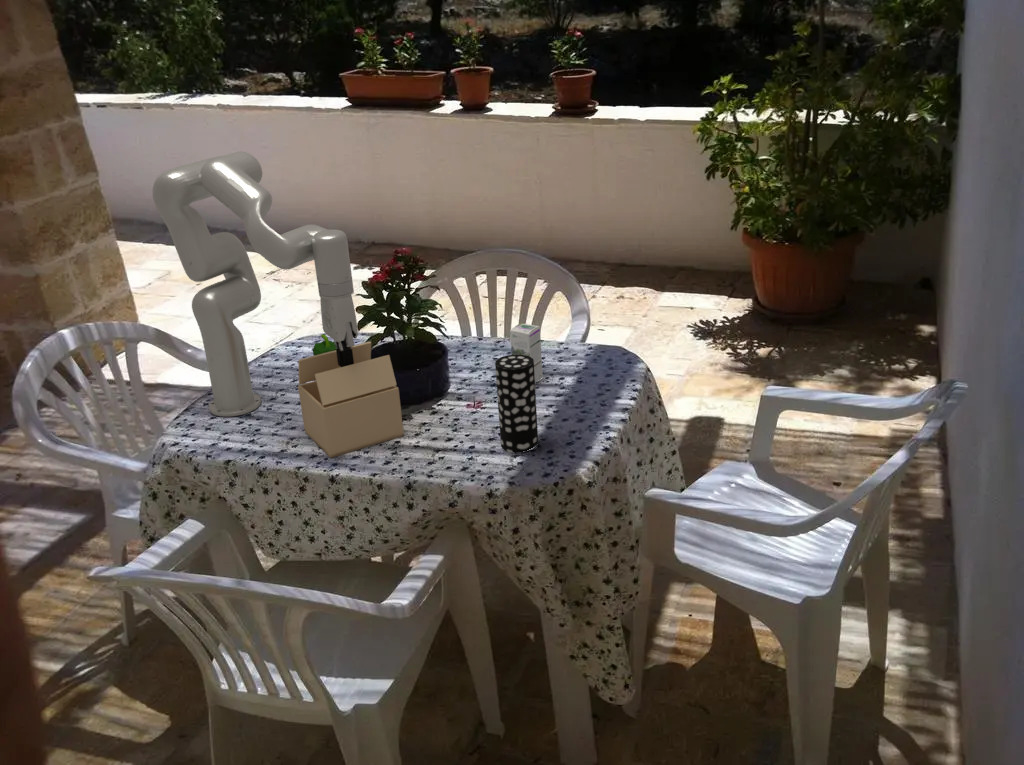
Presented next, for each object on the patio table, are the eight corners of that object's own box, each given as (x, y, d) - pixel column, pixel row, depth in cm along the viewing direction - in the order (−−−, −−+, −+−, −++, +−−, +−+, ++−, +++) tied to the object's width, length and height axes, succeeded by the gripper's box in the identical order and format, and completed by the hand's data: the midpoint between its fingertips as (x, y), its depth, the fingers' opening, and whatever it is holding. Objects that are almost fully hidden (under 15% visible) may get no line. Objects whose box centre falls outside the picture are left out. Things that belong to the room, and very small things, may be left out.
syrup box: (543, 378, 266) (541, 325, 260) (531, 387, 261) (528, 332, 255) (524, 374, 269) (521, 321, 263) (512, 383, 264) (508, 329, 258)
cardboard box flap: (395, 385, 236) (396, 385, 235) (322, 405, 228) (323, 405, 227) (388, 354, 235) (389, 354, 235) (314, 374, 227) (315, 374, 227)
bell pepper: (348, 375, 275) (343, 339, 271) (317, 379, 274) (311, 344, 270) (345, 363, 283) (341, 329, 279) (315, 367, 281) (310, 333, 277)
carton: (305, 432, 245) (297, 385, 240) (375, 412, 253) (369, 366, 248) (330, 458, 232) (323, 409, 227) (403, 435, 240) (398, 388, 235)
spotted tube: (525, 456, 227) (520, 371, 219) (493, 448, 232) (487, 365, 224) (545, 440, 234) (541, 358, 226) (513, 433, 238) (508, 352, 230)
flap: (299, 384, 239) (298, 383, 240) (370, 365, 247) (369, 364, 248) (299, 361, 235) (298, 359, 235) (371, 342, 243) (370, 341, 243)
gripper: (307, 282, 232) (318, 359, 239) (332, 299, 220) (343, 379, 227) (338, 275, 235) (348, 351, 242) (365, 292, 223) (375, 371, 231)
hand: (346, 364), depth 235 cm, fingers closed
